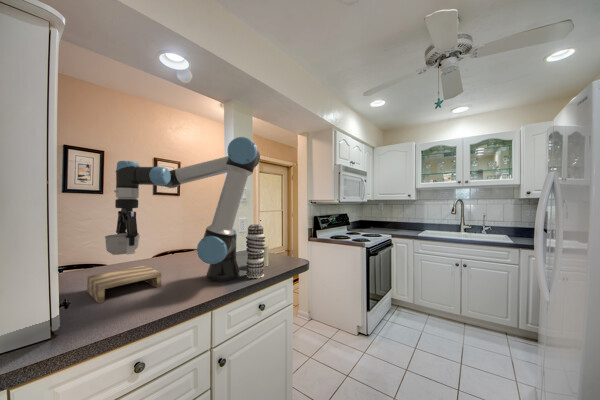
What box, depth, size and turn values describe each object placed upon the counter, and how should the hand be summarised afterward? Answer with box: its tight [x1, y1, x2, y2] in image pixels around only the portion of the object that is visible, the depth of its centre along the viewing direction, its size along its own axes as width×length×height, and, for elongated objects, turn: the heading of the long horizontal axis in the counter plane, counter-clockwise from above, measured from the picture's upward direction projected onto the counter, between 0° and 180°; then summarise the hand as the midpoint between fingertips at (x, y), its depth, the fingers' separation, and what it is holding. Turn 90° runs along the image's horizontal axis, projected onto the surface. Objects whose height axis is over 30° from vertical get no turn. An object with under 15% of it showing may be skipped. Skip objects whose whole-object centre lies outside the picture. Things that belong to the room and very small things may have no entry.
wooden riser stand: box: [86, 265, 162, 304], centre depth 91 cm, size 18×20×6 cm
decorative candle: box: [245, 223, 266, 279], centre depth 109 cm, size 9×9×25 cm
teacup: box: [104, 232, 141, 256], centre depth 92 cm, size 14×11×8 cm
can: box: [263, 244, 269, 268], centre depth 127 cm, size 9×9×12 cm
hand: (125, 251), depth 92 cm, fingers closed on teacup, 11 cm apart
